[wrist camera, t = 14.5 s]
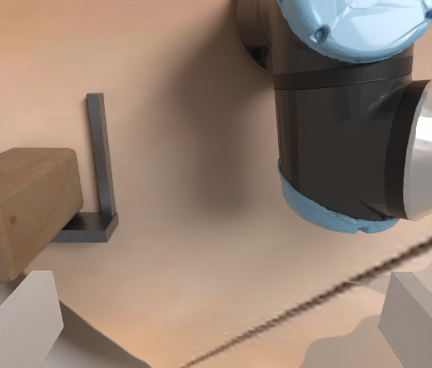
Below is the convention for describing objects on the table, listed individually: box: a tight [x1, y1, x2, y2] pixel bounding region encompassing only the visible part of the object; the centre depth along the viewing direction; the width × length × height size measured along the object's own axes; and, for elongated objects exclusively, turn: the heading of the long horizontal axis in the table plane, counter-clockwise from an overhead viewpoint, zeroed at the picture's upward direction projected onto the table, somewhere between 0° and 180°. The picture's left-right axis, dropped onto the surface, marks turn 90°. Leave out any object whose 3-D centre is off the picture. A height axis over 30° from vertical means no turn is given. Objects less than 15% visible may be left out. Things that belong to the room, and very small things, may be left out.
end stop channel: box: [50, 93, 118, 242], centre depth 45 cm, size 21×20×6 cm
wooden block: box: [0, 148, 83, 283], centre depth 40 cm, size 10×10×20 cm
